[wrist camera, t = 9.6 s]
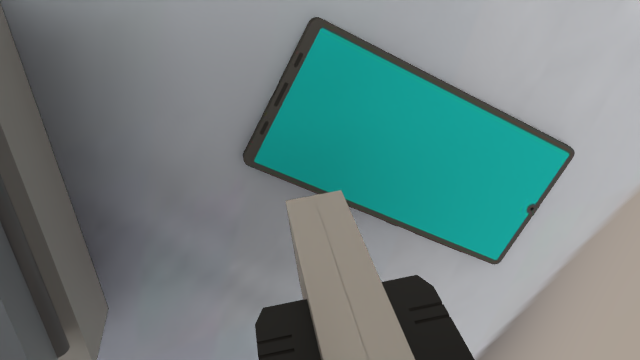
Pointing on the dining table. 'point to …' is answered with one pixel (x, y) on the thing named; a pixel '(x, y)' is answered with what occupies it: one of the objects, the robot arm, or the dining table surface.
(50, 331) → the cover
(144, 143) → the dining table surface
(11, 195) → the hinged lid box
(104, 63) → the dining table surface
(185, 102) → the dining table surface
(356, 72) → the smartphone
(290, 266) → the dining table surface
